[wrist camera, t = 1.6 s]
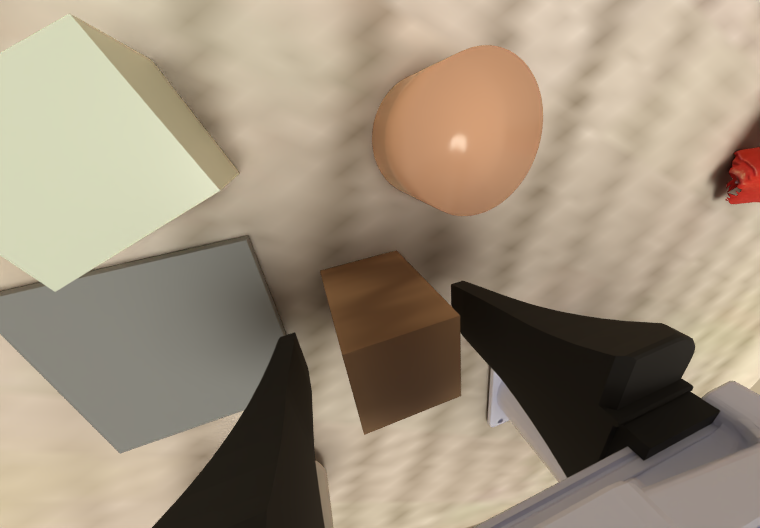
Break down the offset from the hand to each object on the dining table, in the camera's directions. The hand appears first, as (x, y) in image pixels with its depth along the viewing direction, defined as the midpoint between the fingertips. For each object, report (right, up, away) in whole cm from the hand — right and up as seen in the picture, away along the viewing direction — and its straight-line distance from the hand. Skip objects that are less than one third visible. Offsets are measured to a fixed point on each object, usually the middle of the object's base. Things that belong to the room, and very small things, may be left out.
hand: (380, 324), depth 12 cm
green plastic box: (-9, +6, -2) cm, 11 cm away
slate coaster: (-9, -1, +1) cm, 9 cm away
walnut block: (-1, +1, +3) cm, 3 cm away
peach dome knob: (+2, +8, 0) cm, 9 cm away
